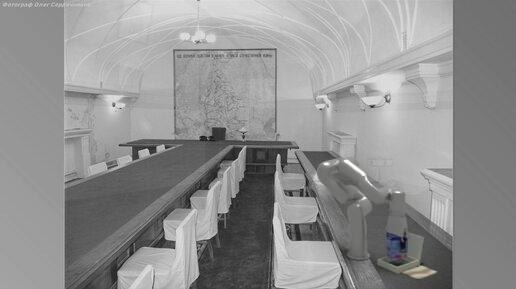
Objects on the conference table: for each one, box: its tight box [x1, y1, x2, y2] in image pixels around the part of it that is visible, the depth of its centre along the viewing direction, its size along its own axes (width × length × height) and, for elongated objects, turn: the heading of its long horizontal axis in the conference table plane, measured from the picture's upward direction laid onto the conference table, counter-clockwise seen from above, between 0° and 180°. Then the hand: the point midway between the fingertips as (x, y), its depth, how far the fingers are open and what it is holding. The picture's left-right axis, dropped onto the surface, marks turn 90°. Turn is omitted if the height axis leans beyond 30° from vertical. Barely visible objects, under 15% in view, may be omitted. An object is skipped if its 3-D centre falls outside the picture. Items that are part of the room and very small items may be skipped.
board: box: [402, 265, 437, 281], centre depth 177 cm, size 9×14×1 cm, turn 119°
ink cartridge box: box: [385, 233, 408, 260], centre depth 186 cm, size 10×6×14 cm, turn 100°
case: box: [377, 232, 425, 274], centre depth 187 cm, size 13×21×15 cm, turn 119°
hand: (397, 246), depth 186 cm, fingers closed on ink cartridge box, 6 cm apart
